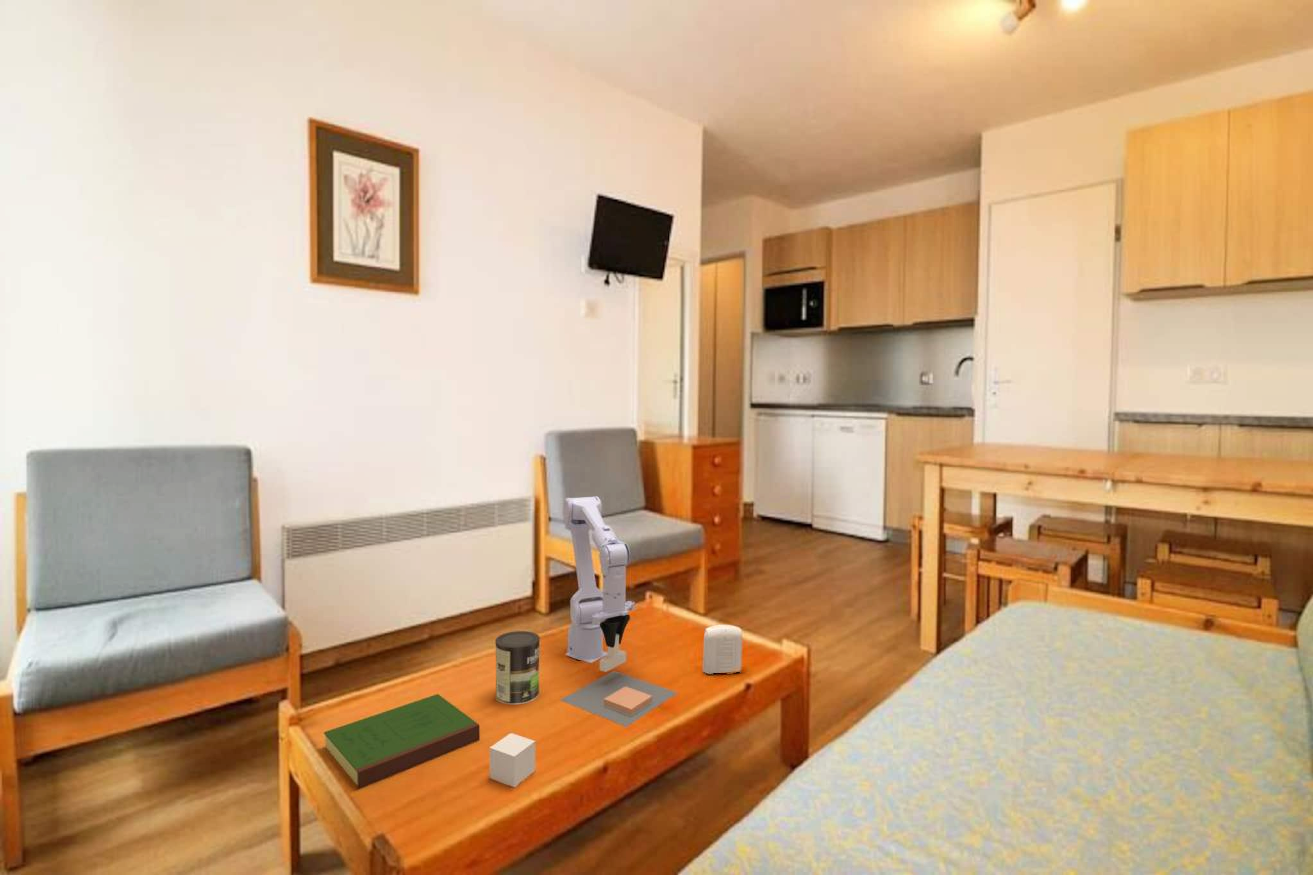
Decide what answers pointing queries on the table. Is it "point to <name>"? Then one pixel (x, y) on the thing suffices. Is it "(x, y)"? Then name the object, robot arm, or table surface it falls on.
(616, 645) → the beige t-shaped block
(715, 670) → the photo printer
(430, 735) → the hardcover book
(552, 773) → the table surface
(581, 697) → the mat
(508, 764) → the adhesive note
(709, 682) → the table surface
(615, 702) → the tile
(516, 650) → the coffee can
